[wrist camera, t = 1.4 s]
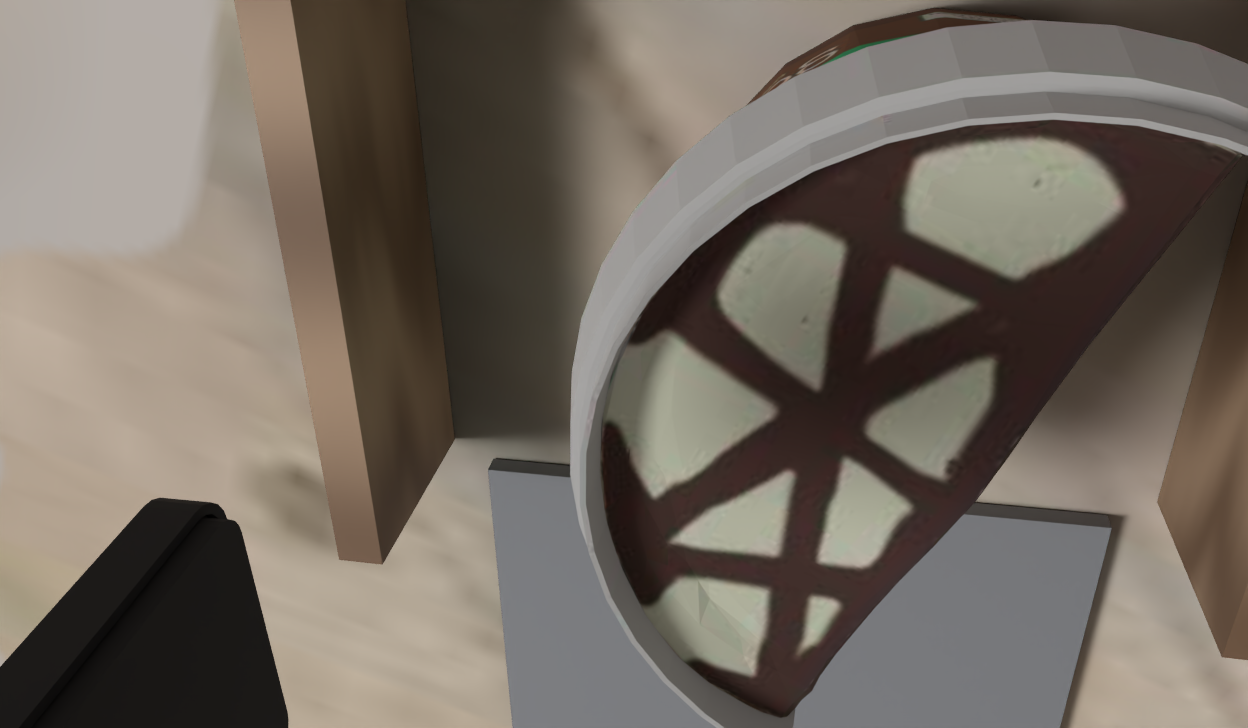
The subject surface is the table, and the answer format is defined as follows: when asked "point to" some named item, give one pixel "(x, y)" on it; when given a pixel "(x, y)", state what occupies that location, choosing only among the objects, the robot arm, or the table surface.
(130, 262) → the table surface
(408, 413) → the open side box
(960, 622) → the gray mat
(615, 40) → the table surface
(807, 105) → the food container
